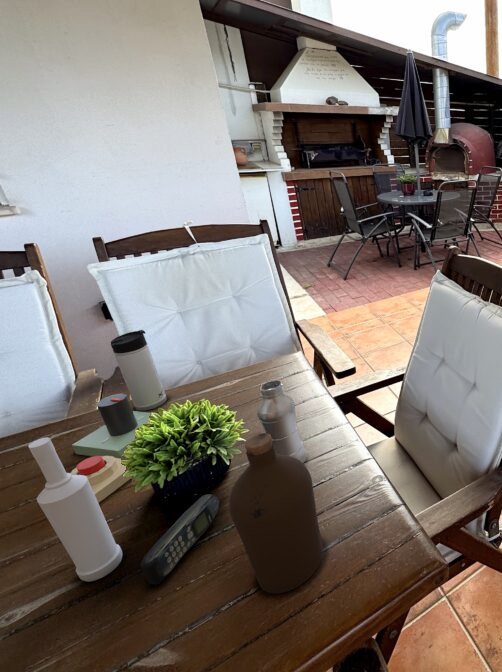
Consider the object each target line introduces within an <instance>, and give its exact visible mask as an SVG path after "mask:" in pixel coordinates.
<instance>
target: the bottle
mask: <svg viewBox="0 0 502 672" xmlns="http://www.w3.org/2000/svg"><path fill="white" fill-rule="evenodd" d="M28 449H29V451H30V453H31V455H32V457H33V458H34V459H35V461H36V463H37V465H38V467H39V469H40V470H41V473H42V475H43V477H44V479H45V480H46V482H45V484H44V488H43V490H42V491H41V492H40V493H39V494H38V495H37V498H36V502H37V503H38V505H39V507H40V509H41V510H42V512H43V513H44V515H45V517H46V519H47V521H48V522H49V524H50V525H51V527H52V529H53V531H54V532H55V534H56V536H57V538H58V539H59V540H60V542H61V544H62V545H63V547H64V549H65V550H66V552H67V554H68V556H69V557H70V559H71V560H72V562H73V564H74V565H75V567H76V568H75V573H76V575H77V576H78V578H79V579H80V580H81V581H84V582H95V581H97V580H100V579H102V578H104V577H105V576H107V575H109V574H110V573H112V571H114V570H115V569H116V568H118V566H119V565H120V563H122V562H121V561H122V560H123V550H122V548H121V546H120V545H119V544H117V543H116V541H115V538H114V536H113V534H112V532H111V530H110V527H109V525H108V523H107V520H106V517H105V516H104V513H103V511H102V509H101V506H100V504H99V503H98V501H97V499H96V497H95V494H94V492H93V490H92V488H91V485H90V483H89V481H88V478H87V477H86V476H83V475H71V472H67V471H66V469H65V467H64V465H63V463H62V461H61V459H60V458H59V457H60V456H59V455H58V453H57V452H56V451H57V450H56V448H55V446H54V443H53V442H52V439H51V437H41V438H38V439H35V440H34V441H32V442H30V443H29V444H28Z"/></svg>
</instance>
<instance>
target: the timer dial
mask: <svg viewBox="0 0 502 672" xmlns="http://www.w3.org/2000/svg"><path fill="white" fill-rule="evenodd" d="M96 406H97V409H98V411H99V413H100V415H101V418H102V421H103V423H104V425H106V427H107V430H108V432H109V434H110V435H111V436H120V435H123V434H126V433H128V432H130V431H132V430H134V429H135V428H136V427H137V425H138V423H137V421H136V418H135V416H134V413H133V411H134V410H133V408H132V406H131V403H130V400H129V399H128V395H127V394H126V393H115V394H111V395H108V396H106V397H104V398H101V399H100V400H99V401H98V402H97V403H96Z"/></svg>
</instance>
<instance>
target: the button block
mask: <svg viewBox="0 0 502 672" xmlns="http://www.w3.org/2000/svg"><path fill="white" fill-rule="evenodd" d="M101 457H102V458H103V460H104V462H105V466H104V467H103V468H102V469H101V470H99V471H98V472H95V473H93V474H91V475H87V476H86V477H87V478H88V481H89V483H90V485H91V488H92V490H93V492H94V494H95V497H96V499H97V501H98V504H99V503H100V502H102V501H104V500H105V499H106V498H108V497H109V496H110V495H112V493H114V492H116V491H117V490H118V489H119V488H121V487H122V486H123V485H124V484H126V483H127V482H128V481H130V480H131V479H132V478H133V477H123V473H124V472H125V470H126V466H124V465H122V464H121V459H120V458H114V457H113V456H101ZM70 473H71V475H80V474H79V472H78V470H77V468H76V467H75V468H73V469H72V470H71V472H70Z"/></svg>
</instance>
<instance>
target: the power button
mask: <svg viewBox="0 0 502 672" xmlns="http://www.w3.org/2000/svg"><path fill="white" fill-rule="evenodd" d="M104 466H105V462H104V460H103V458H102V457H101V456H89V457H88V458H85V459H84V460H82V461H80V462H79V463H78V464H77V465H76V467H75V468H77V470H78V472H79V474H80V475H83V476H87V475H91V474H93V473H95V472H98V471H99V470H101V469H102V468H103V467H104Z"/></svg>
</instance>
